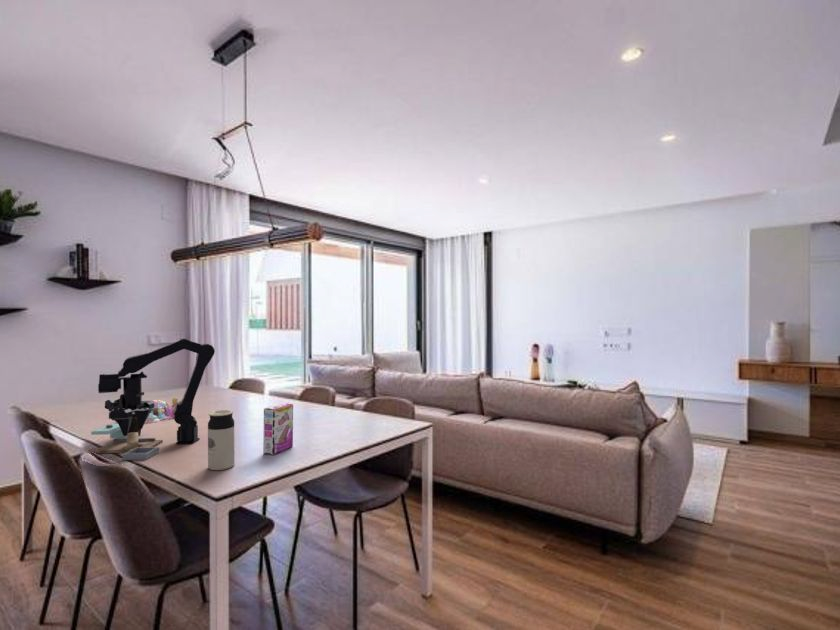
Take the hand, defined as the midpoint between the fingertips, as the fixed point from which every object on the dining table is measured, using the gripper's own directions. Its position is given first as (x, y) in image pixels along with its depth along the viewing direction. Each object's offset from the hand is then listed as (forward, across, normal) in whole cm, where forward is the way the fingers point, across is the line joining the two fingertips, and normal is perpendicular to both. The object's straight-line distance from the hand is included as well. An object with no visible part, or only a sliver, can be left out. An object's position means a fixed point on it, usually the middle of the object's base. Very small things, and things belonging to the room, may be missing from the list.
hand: (132, 432), depth 166 cm
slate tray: (+6, +9, +8) cm, 13 cm away
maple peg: (+6, 0, 0) cm, 6 cm away
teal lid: (+4, -2, -10) cm, 11 cm away
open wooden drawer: (+6, -2, -3) cm, 7 cm away
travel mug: (+7, +21, +41) cm, 46 cm away
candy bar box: (+7, +4, +55) cm, 55 cm away
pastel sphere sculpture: (+7, -52, -21) cm, 57 cm away
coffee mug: (+6, -17, -11) cm, 21 cm away
